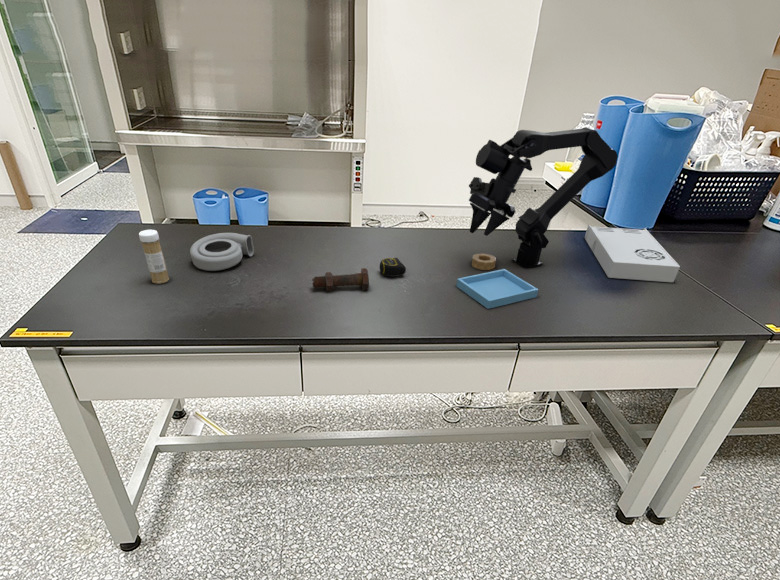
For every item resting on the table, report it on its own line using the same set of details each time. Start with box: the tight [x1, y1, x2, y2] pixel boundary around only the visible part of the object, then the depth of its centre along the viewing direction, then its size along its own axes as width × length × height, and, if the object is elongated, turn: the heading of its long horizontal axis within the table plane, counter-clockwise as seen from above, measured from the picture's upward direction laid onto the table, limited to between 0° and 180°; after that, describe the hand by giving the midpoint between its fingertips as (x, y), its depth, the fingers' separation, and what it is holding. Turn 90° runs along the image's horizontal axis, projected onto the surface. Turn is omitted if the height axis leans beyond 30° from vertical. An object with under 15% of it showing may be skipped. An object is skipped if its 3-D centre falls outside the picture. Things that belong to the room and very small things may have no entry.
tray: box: [455, 268, 539, 310], centre depth 137 cm, size 17×15×2 cm
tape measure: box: [379, 257, 407, 277], centre depth 143 cm, size 7×7×4 cm
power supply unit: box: [584, 224, 681, 283], centre depth 158 cm, size 19×33×5 cm, turn 174°
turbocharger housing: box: [189, 232, 255, 272], centre depth 146 cm, size 17×6×15 cm
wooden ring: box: [471, 253, 497, 271], centre depth 151 cm, size 7×7×2 cm
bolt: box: [311, 267, 370, 292], centre depth 134 cm, size 6×5×15 cm
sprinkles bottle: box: [138, 229, 170, 285], centre depth 132 cm, size 5×5×14 cm
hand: (478, 233), depth 143 cm, fingers open, 9 cm apart
